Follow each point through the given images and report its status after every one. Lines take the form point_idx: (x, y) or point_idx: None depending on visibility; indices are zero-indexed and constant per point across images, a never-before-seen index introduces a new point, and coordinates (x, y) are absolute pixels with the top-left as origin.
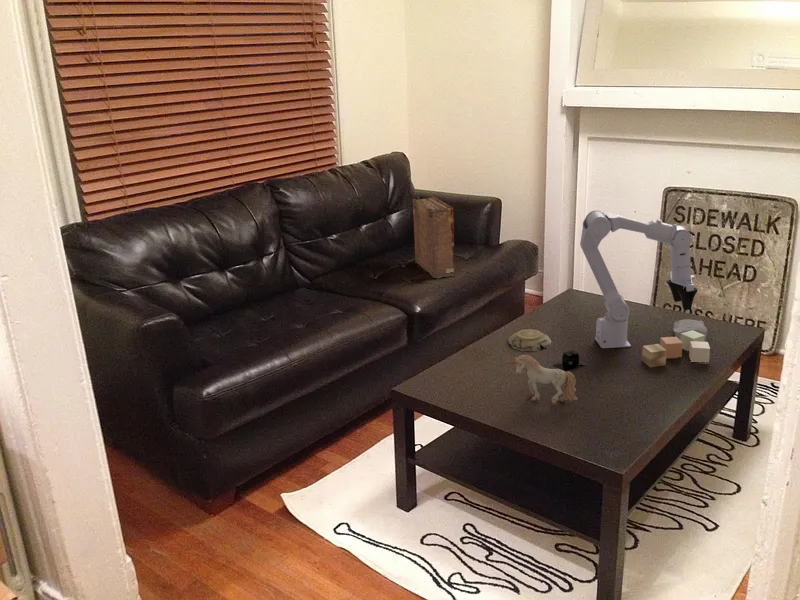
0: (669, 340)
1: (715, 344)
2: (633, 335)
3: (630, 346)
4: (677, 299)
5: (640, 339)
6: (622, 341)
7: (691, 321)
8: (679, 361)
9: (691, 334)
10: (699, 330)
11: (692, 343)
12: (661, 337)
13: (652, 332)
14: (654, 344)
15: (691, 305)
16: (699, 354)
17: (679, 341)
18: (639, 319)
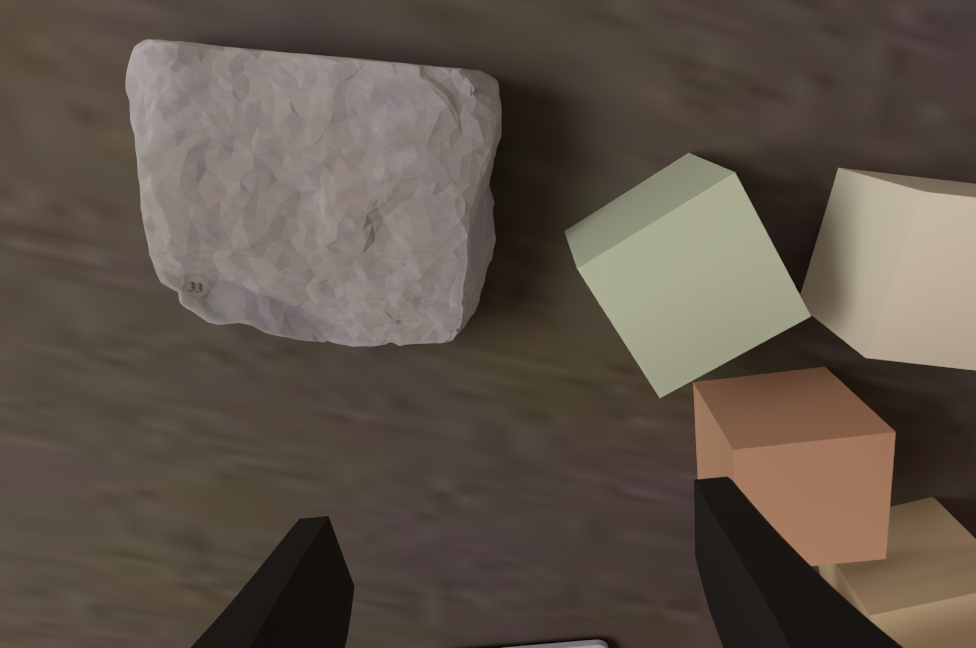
0: (813, 522)
1: (574, 5)
2: (395, 588)
3: (605, 642)
4: (336, 592)
5: (466, 561)
6: None
7: (192, 170)
8: (891, 395)
9: (697, 308)
10: (476, 160)
11: (928, 352)
12: None
13: (325, 465)
14: None
15: (764, 520)
16: None
17: (853, 451)
18: (69, 503)
